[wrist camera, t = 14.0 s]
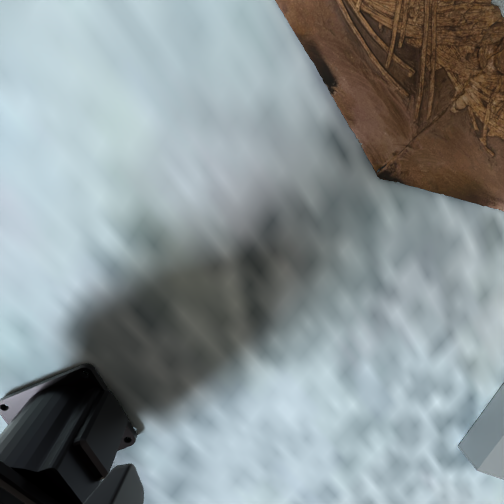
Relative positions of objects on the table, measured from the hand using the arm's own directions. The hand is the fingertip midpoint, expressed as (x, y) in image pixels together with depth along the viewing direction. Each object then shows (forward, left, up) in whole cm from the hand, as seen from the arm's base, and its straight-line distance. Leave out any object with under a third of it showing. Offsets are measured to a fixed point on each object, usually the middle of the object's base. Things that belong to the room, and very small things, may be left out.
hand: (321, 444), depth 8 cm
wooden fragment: (+12, +8, -13) cm, 19 cm away
